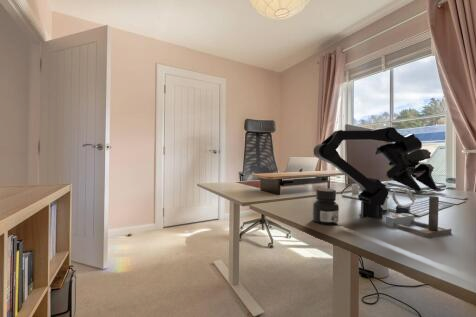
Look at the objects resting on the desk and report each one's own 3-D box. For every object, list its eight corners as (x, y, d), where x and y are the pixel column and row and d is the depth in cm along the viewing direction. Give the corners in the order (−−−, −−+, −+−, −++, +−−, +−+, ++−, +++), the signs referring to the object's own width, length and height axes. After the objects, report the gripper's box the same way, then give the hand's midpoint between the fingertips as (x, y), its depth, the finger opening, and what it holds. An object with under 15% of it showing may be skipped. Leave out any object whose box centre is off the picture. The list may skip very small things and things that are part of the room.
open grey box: (385, 227, 78) (385, 220, 78) (406, 224, 82) (406, 217, 82) (429, 242, 66) (429, 233, 66) (451, 236, 70) (451, 228, 70)
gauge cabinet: (385, 227, 78) (385, 215, 78) (406, 224, 82) (406, 212, 82) (392, 230, 75) (393, 216, 75) (414, 226, 80) (414, 213, 79)
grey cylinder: (419, 233, 70) (420, 196, 69) (434, 230, 72) (435, 195, 72) (430, 236, 67) (432, 198, 66) (446, 233, 70) (447, 196, 69)
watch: (414, 217, 91) (415, 189, 91) (390, 213, 97) (391, 187, 96) (416, 214, 95) (416, 188, 95) (393, 210, 101) (393, 186, 101)
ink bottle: (324, 227, 78) (325, 192, 78) (307, 220, 87) (307, 188, 86) (344, 223, 82) (345, 190, 82) (326, 217, 91) (326, 187, 90)
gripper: (396, 140, 78) (432, 175, 68) (428, 142, 85) (465, 174, 75) (373, 162, 85) (403, 196, 75) (405, 162, 92) (436, 194, 82)
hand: (428, 190), depth 77 cm, fingers open, 9 cm apart
